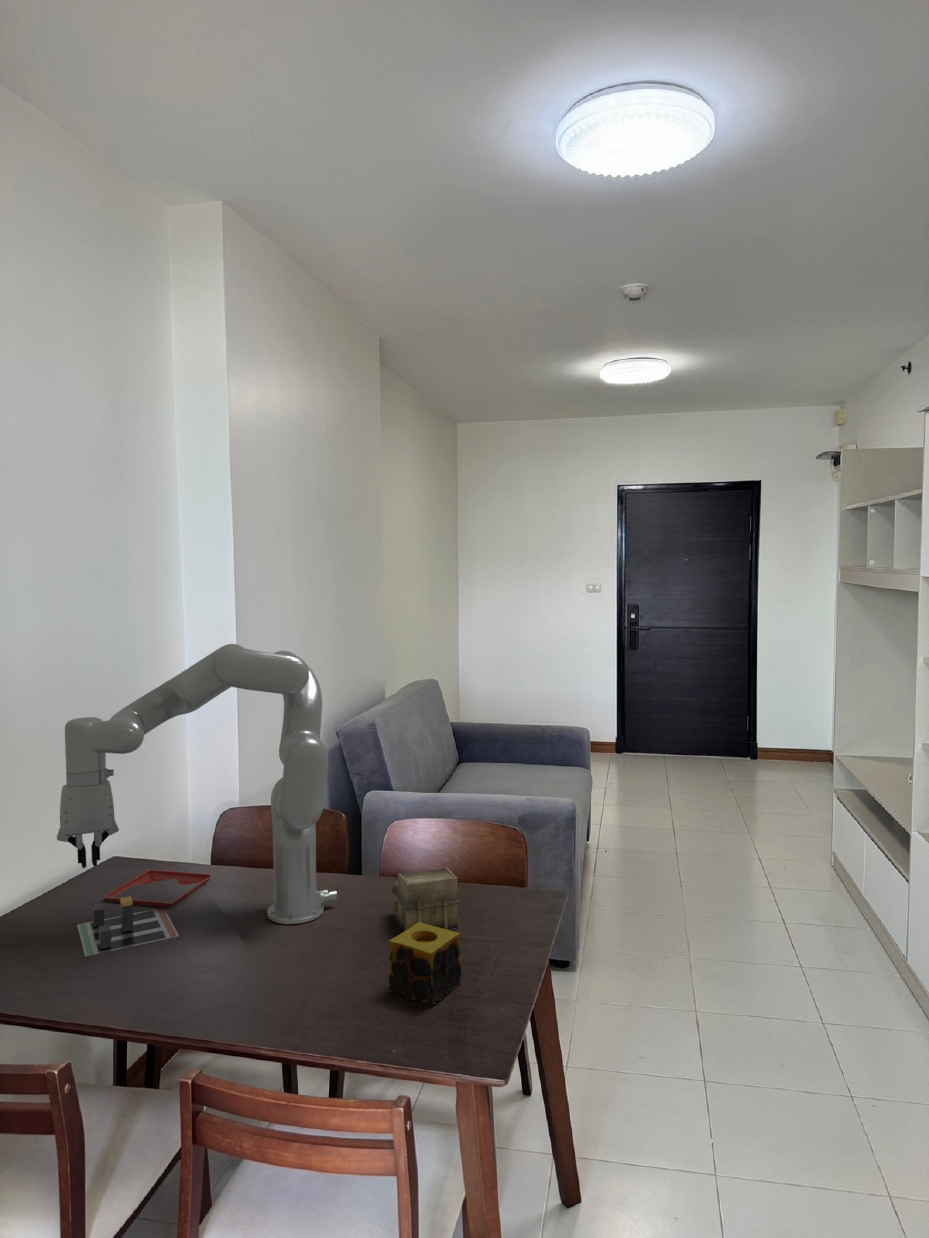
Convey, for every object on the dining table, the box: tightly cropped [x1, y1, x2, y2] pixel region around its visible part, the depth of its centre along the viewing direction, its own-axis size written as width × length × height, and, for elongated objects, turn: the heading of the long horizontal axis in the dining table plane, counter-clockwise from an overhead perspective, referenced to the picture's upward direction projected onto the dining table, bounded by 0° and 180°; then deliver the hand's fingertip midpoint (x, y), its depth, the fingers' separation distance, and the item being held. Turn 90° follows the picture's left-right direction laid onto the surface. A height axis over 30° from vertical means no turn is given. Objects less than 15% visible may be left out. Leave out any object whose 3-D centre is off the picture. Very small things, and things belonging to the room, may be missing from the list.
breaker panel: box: [76, 907, 180, 957], centre depth 176 cm, size 18×17×2 cm
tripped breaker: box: [119, 895, 134, 932], centre depth 176 cm, size 2×3×6 cm
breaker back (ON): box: [91, 903, 105, 927], centre depth 179 cm, size 2×3×4 cm, turn 30°
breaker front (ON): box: [99, 924, 112, 949], centre depth 168 cm, size 2×3×4 cm, turn 30°
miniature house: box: [390, 866, 461, 931], centre depth 183 cm, size 15×14×11 cm
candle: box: [388, 922, 462, 1007], centre depth 154 cm, size 10×10×10 cm
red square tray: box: [103, 869, 213, 908], centre depth 198 cm, size 18×18×3 cm
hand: (89, 864), depth 172 cm, fingers closed
